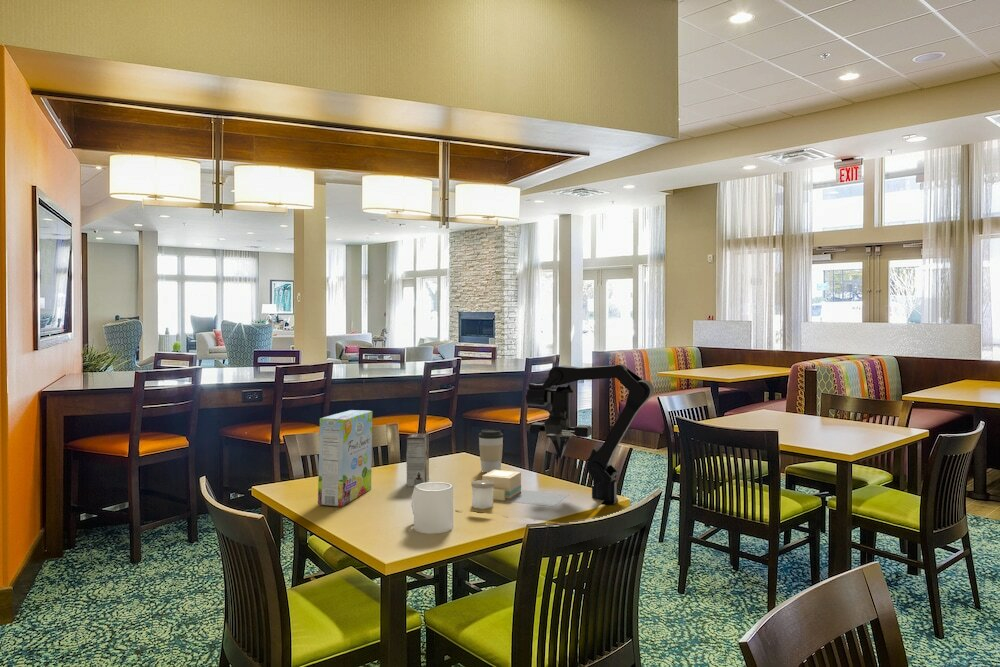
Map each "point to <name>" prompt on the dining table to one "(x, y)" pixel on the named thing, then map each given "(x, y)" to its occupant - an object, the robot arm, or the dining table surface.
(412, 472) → the coffee box
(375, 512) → the dining table surface
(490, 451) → the coffee cup
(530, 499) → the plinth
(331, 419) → the snack box
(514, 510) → the dining table surface
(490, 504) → the sugar jar
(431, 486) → the mug
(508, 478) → the carton
